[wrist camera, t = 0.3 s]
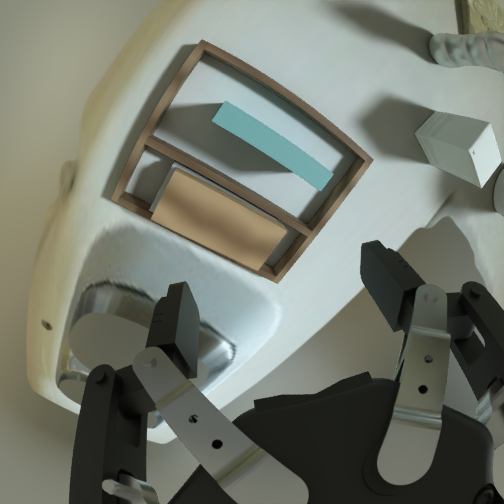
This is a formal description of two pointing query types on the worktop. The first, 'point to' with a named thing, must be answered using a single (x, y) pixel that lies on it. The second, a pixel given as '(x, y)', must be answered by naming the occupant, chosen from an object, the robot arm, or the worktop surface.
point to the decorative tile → (482, 16)
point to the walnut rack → (173, 152)
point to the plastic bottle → (469, 49)
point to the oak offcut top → (217, 220)
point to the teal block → (272, 144)
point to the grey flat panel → (203, 180)
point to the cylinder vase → (499, 193)
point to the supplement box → (460, 146)
